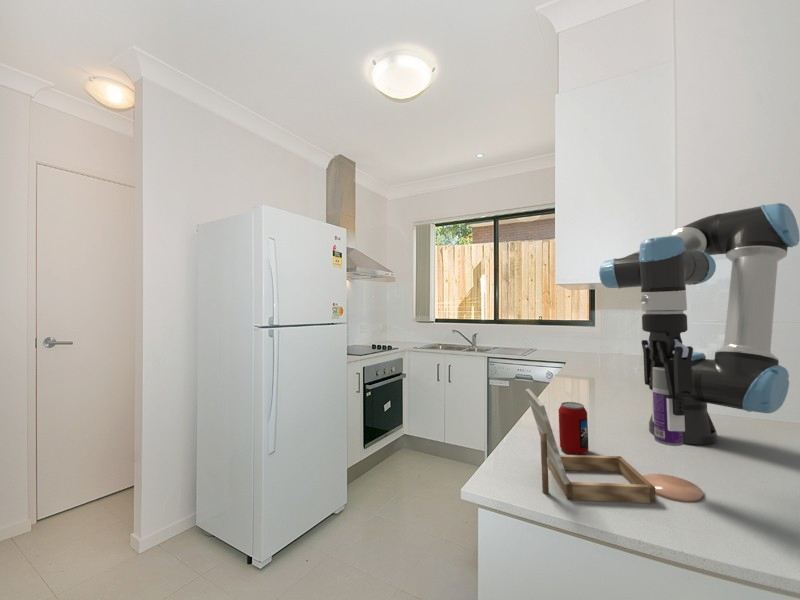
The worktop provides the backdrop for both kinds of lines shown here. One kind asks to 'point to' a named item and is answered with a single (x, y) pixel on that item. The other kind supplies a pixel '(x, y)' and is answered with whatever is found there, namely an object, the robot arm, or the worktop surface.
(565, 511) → the worktop surface
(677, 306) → the robot arm
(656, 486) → the saucer
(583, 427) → the beverage can
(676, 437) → the container
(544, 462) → the wooden frame
